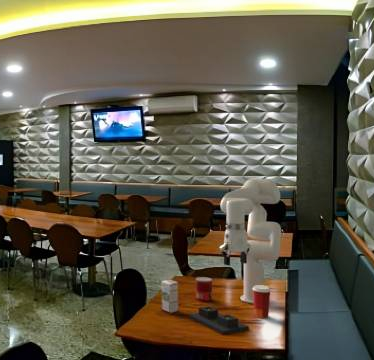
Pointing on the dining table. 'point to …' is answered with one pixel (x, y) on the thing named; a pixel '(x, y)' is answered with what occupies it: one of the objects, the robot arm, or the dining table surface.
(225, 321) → the pad
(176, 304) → the syrup box
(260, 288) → the paper cup
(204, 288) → the canned food
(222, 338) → the dining table surface
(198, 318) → the base mat
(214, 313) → the pad
